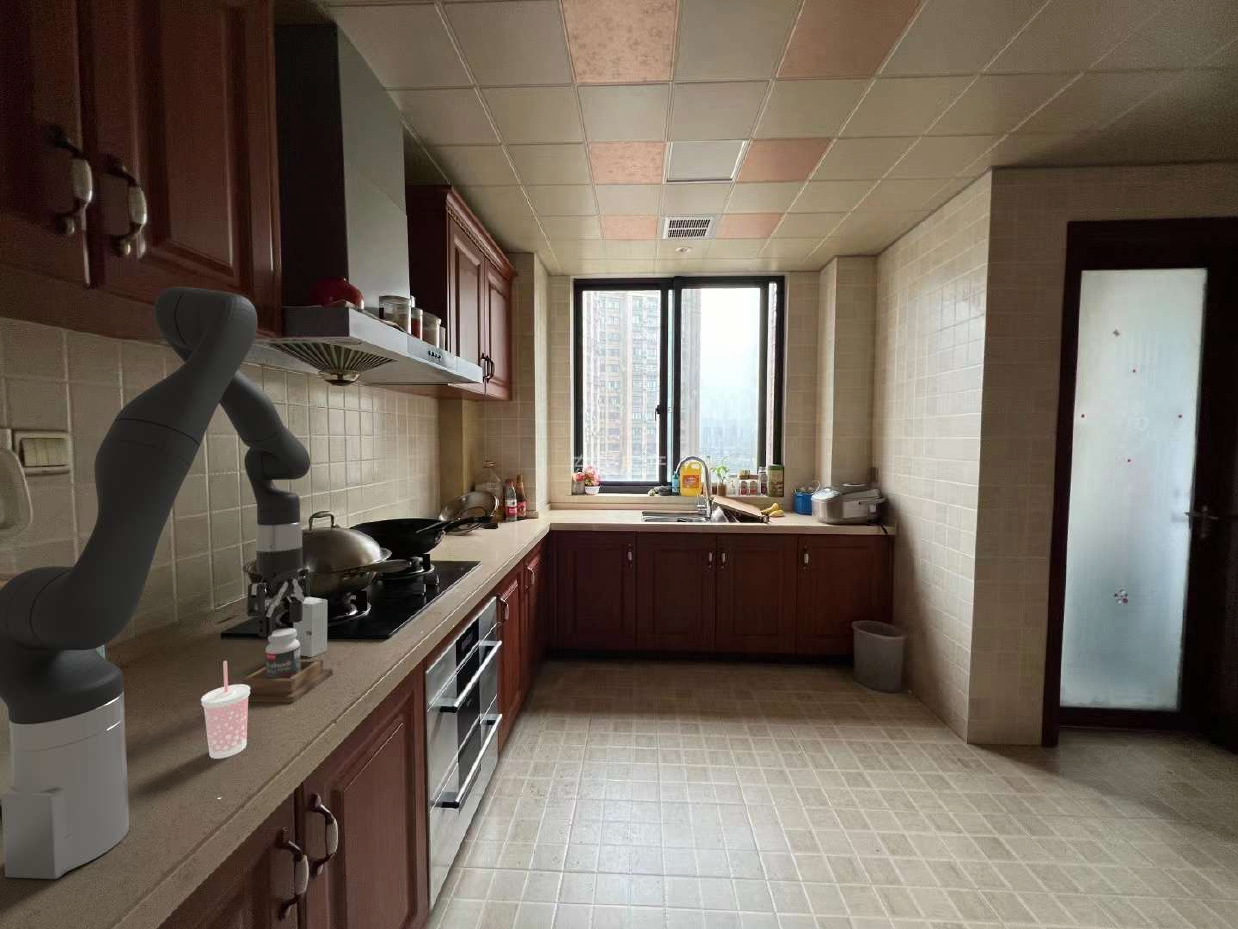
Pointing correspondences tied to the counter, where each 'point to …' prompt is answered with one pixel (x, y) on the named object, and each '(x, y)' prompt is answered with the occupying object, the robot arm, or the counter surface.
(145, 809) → the counter surface
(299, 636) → the skincare box
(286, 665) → the pill bottle
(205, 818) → the counter surface
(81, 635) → the robot arm
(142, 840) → the counter surface
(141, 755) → the counter surface
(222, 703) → the beverage cup
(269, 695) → the wooden tray
